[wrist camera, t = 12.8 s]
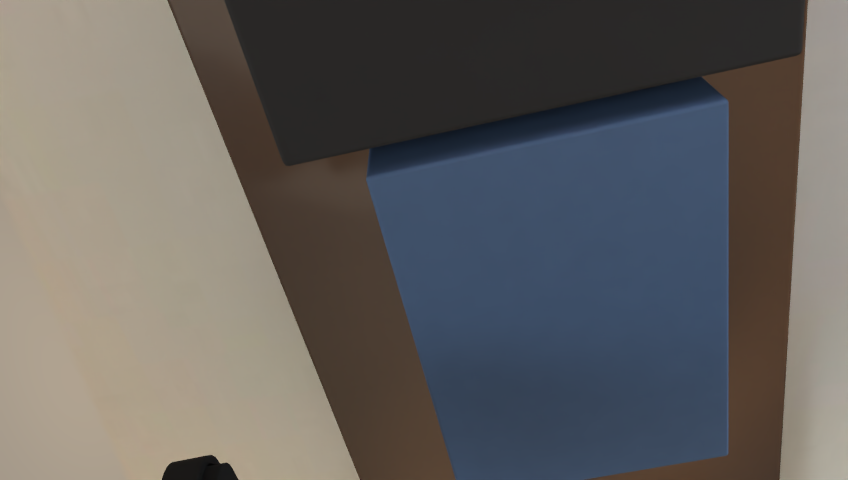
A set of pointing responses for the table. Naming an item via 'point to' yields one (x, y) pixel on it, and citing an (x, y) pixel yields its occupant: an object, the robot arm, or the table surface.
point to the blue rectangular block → (569, 282)
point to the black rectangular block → (480, 59)
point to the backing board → (382, 304)
